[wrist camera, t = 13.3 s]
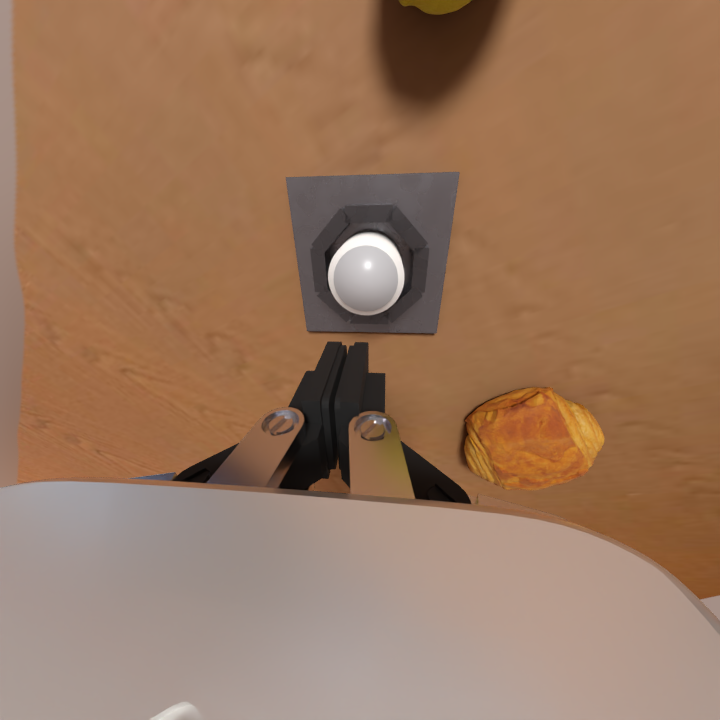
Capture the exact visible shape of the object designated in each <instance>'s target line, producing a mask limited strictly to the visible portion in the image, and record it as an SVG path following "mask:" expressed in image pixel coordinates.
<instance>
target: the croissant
mask: <svg viewBox="0 0 720 720" xmlns="http://www.w3.org/2000/svg"><path fill="white" fill-rule="evenodd" d="M465 422H467V423H466V426H467V431H468V436H467V437H466V440H465V446H464V450H465V455H466V460H467V464H468V468H469V469H470V471H472V472H473V473H475V474H476V475H478V476H481V478H484V479H486V480H487V481H489V482H493V483H494V484H495V485H498V486H500V487H503V489H506V490H539V489H544V488H547V487H550V486H554V485H560V484H564V483H566V482H569V481H571V480H574V479H576V478H578V477H581V476H583V475H585V474H586V473H587V472H588V468H589V467H591V466H592V465H593V462H594V459H595V457H596V456H597V452H599V451H600V450H601V449H602V448H601V447H602V445H603V444H604V435H603V432H602V430H601V428H600V426H599V424H598V423H597V421H596V420H595V418H594V417H593V416H592V414H591V413H589V412H588V410H587V409H585V408H584V406H583V405H581V404H578V403H573V402H571V401H569V400H564V398H562V397H561V396H559V395H558V394H556V393H555V392H553V388H550V387H546V388H539V387H531V388H526V389H520V390H515V391H512V392H510V393H508V394H504V395H501V396H499V397H497V398H495V399H493V400H490V401H487V402H486V403H484V404H483V405H482V406H480V407H478V408H477V409H476V410H475V411H474V412H473V413H472V414H470V415H469V416H468V417H467V419H466V420H465Z"/></svg>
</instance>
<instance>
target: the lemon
mask: <svg viewBox="0 0 720 720" xmlns="http://www.w3.org/2000/svg"><path fill="white" fill-rule="evenodd" d="M398 1H399V2H400V4H401V5H402V6H410V5H411V6H416V7H417V8H419V9H420V10H422V11H423V12H425V13H427V14H434V15H439V14H446V13H450V12H453V11H457V10H459V9H460V8H462V7H463V6H465V5H466V4H468V3H469V2H470V1H472V0H398Z"/></svg>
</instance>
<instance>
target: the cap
mask: <svg viewBox="0 0 720 720" xmlns="http://www.w3.org/2000/svg"><path fill="white" fill-rule="evenodd" d="M328 282H329V287H330V290H331V292H332V294H333V296H334V298H335V299H336V301H337V302H338V303H339V304H340V305H341V306H342V307H344V308H345V309H347V310H348V311H350V312H352V313H355V314H359V315H375V314H378V313H381V312H383V311H385V310H387V309H388V308H390V307H391V306H392V305H393V304H394V303H395V302H396V301H397V299H398V298H399V296H400V294H401V292H402V289H403V286H404V268H403V264H402V259H401V255H400V252H399V249H398V247H397V245H396V244H395V242H394V241H393V240H392V239H391V238H390V237H389V236H387V235H386V234H384V233H382V232H379V231H375V230H364V231H360V232H358V233H356V234H354V235H352V236H351V237H350V238H348V239H347V240H346V242H345V243H344V244H343V245H342V246H341V247H340V249H339V250H338V251H337V252H336V253H335V255H334V257H333V258H332V260H331V263H330V266H329V271H328Z"/></svg>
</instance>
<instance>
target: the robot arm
mask: <svg viewBox="0 0 720 720" xmlns="http://www.w3.org/2000/svg"><path fill="white" fill-rule="evenodd" d="M338 458H339V469H340V470H341V476H342V480H343V481H344V482H345V483H346V484H347V485H348V486H349V488H350V491H351V494H346V493H333V492H319V491H314V488H315V484H314V483H315V482H317V481H318V480H320V479H321V478H325V479H328V478H329V474H330V469H336V465H337V460H338ZM0 720H720V620H719V619H718V618H717V617H716V616H715V615H714V614H713V613H712V612H711V611H710V610H709V609H708V608H707V607H706V606H705V605H704V604H703V603H702V602H701V601H700V599H699V598H698V597H696V596H695V595H694V594H693V593H692V592H691V591H690V590H689V589H688V588H687V587H686V586H685V585H684V584H683V583H682V582H681V581H679V580H678V579H677V578H676V577H674V576H673V575H672V574H671V573H670V572H668V571H667V570H666V569H665V568H663V567H662V566H660V565H659V564H658V563H656V562H655V561H653V560H652V559H650V558H649V557H647V556H645V555H644V554H642V553H640V552H638V551H636V550H635V549H633V548H631V547H629V546H627V545H625V544H623V543H621V542H619V541H617V540H615V539H613V538H611V537H608V536H606V535H603V534H601V533H598V532H596V531H593V530H591V529H588V528H586V527H583V526H581V525H578V524H575V523H571V522H569V521H568V520H567V519H564V518H562V517H559V516H557V515H554V514H551V513H547V512H543V511H540V510H536V509H532V508H529V507H525V506H521V505H518V504H514V503H510V502H507V501H503V500H499V499H496V498H492V497H489V496H485V495H481V494H478V495H477V497H473V496H469V495H467V494H466V492H465V491H464V490H463V489H462V488H461V487H460V486H459V485H458V484H456V483H455V482H454V481H452V480H451V479H450V478H448V477H447V476H446V475H445V474H443V473H442V472H441V471H439V470H438V469H437V468H436V467H434V466H433V465H432V464H430V463H429V462H428V461H426V460H425V459H424V458H423V457H421V456H420V455H419V454H417V453H416V452H415V451H413V450H412V449H411V448H410V447H408V446H407V445H406V444H404V443H403V442H402V441H400V437H399V433H398V429H397V425H396V423H395V421H394V420H393V419H392V418H391V417H390V416H389V415H387V414H385V373H368V343H366V342H355V344H354V346H349V350H348V354H347V347H346V345H342V343H341V342H327V344H326V347H325V349H324V351H323V353H322V356H321V358H320V360H319V362H318V364H317V367H316V369H315V371H306V373H305V375H304V377H303V379H302V381H301V383H300V385H299V387H298V389H297V391H296V393H295V395H294V397H293V399H292V401H291V403H290V405H289V406H288V407H282V408H277V409H274V410H271V411H269V412H267V413H266V414H264V415H263V416H262V417H261V418H260V419H259V420H258V421H257V423H256V424H255V425H254V426H253V427H252V429H251V430H250V431H249V432H248V433H247V435H246V436H245V437H244V438H243V439H242V441H241V442H240V443H238V444H236V445H234V446H232V447H230V448H228V449H226V450H224V451H222V452H220V453H218V454H216V455H214V456H211V457H209V458H207V459H205V460H203V461H201V462H199V463H197V464H195V465H193V466H191V467H189V468H188V469H186V470H184V471H183V472H181V473H180V474H179V475H178V476H177V474H176V473H175V472H173V473H166V474H158V475H151V476H143V477H136V478H128V479H127V478H104V477H72V478H55V479H45V480H38V481H31V482H24V483H19V484H15V485H10V486H6V487H2V488H0Z"/></svg>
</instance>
